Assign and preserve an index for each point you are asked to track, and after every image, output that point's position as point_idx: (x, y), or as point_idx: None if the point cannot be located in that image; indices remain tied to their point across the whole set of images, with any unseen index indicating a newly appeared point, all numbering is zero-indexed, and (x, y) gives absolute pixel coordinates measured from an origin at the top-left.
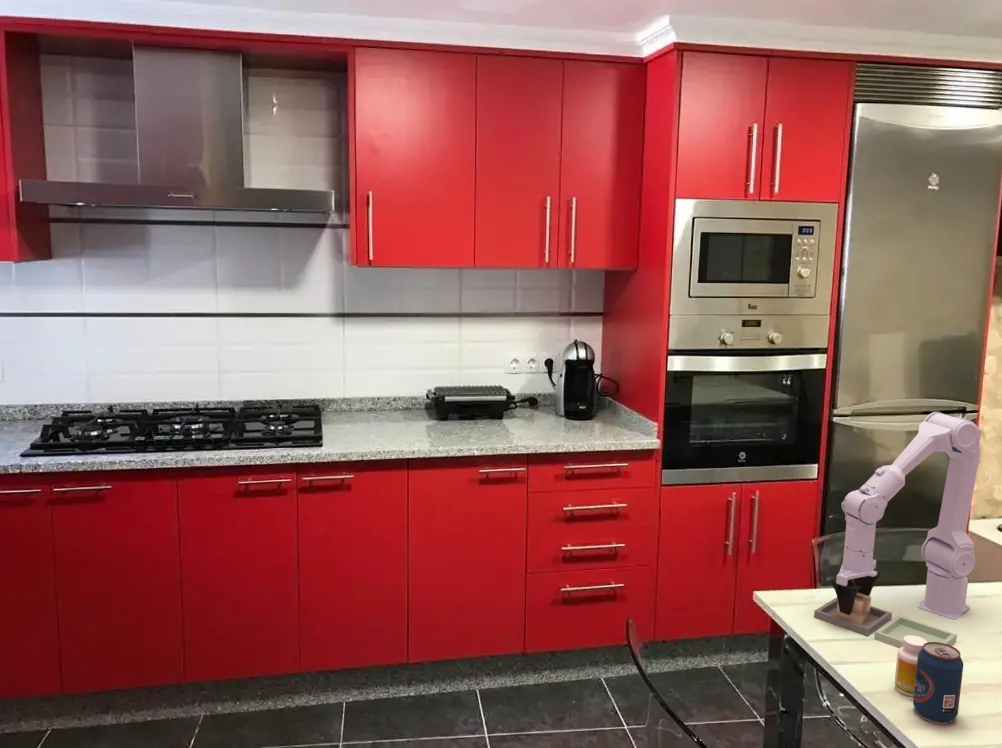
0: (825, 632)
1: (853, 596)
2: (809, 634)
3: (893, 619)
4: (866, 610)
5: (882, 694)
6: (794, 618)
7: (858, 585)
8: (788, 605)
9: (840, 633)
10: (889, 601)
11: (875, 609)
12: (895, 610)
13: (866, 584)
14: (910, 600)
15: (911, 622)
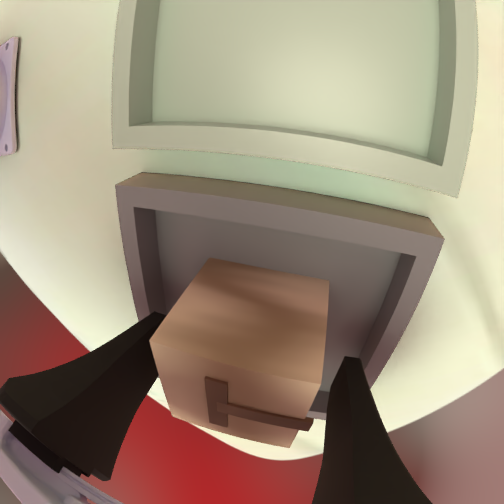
0: (444, 354)
1: (401, 468)
2: (471, 376)
3: (182, 146)
4: (235, 304)
5: None
6: None
7: (127, 409)
8: (296, 436)
9: (434, 319)
10: (38, 232)
11: (140, 260)
12: (61, 195)
13: (102, 402)
14: (4, 188)
15: (135, 66)
